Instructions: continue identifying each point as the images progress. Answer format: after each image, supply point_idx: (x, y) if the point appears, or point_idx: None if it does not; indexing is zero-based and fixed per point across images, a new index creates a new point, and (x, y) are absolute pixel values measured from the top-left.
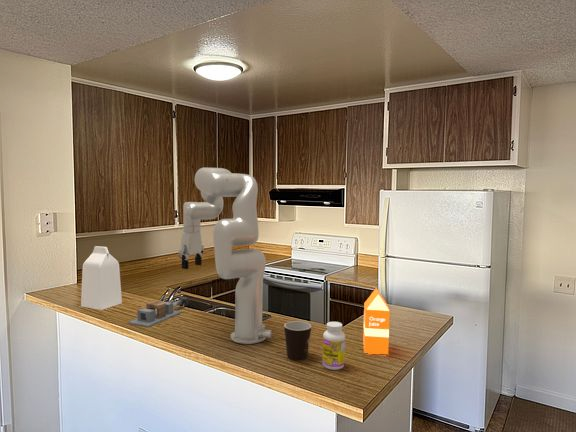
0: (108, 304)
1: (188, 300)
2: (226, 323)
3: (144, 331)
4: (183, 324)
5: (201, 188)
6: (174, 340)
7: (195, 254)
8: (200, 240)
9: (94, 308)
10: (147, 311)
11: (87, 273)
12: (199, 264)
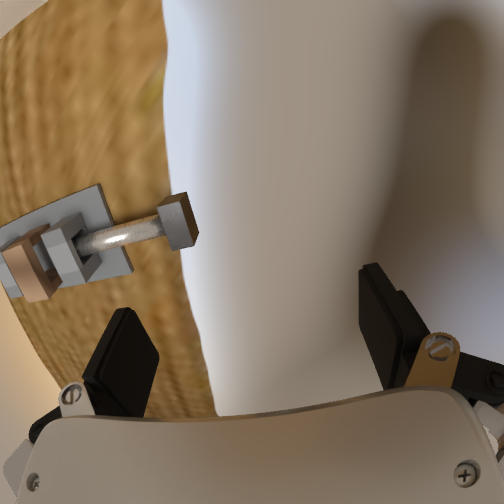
0: (3, 28)
1: (194, 240)
2: (183, 400)
3: (16, 305)
4: (95, 341)
5: None
6: (58, 374)
7: (411, 369)
8: None
9: None
10: (7, 288)
11: None
12: (361, 321)
